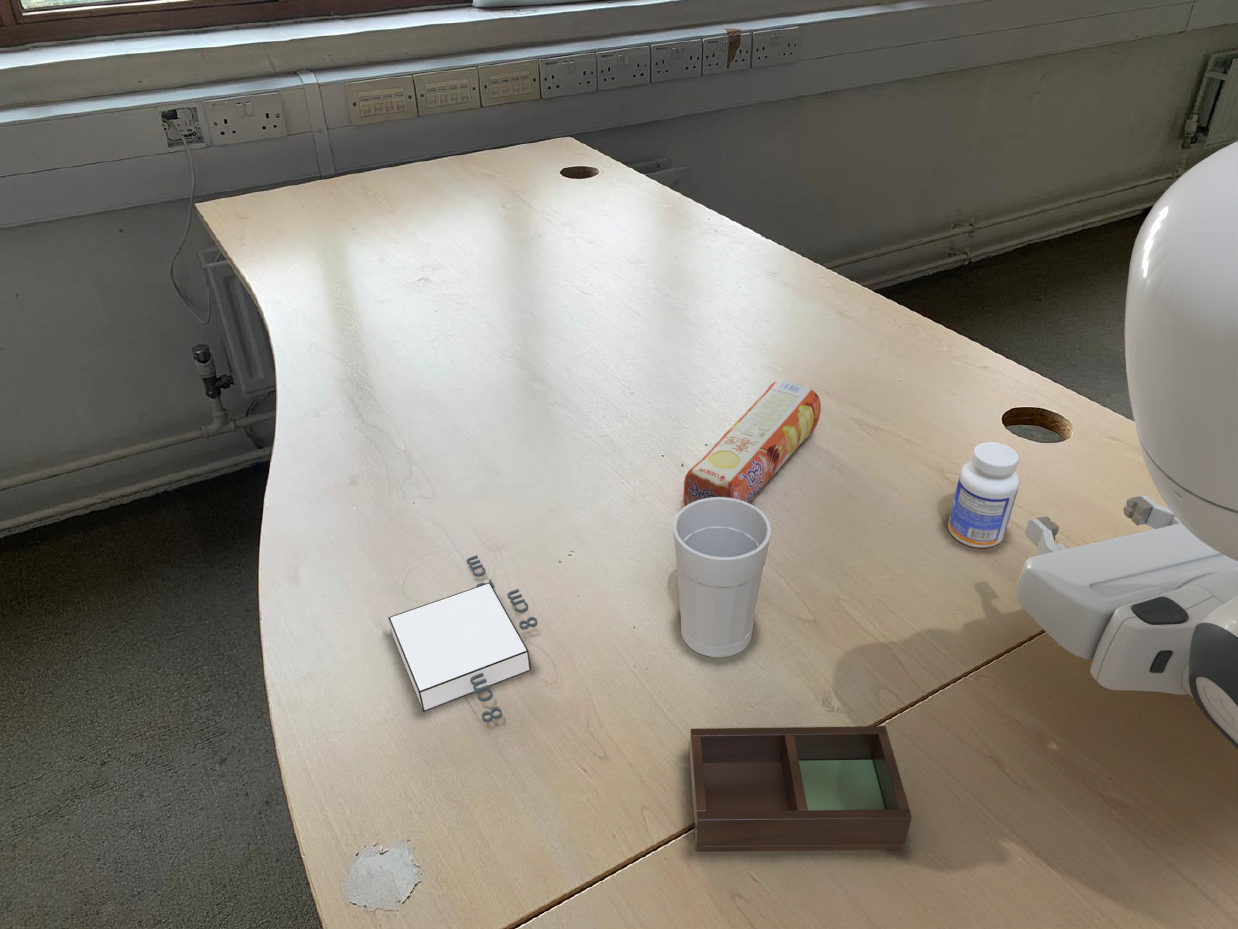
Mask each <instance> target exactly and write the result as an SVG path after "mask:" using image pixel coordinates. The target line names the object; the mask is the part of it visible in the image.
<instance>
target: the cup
mask: <svg viewBox="0 0 1238 929" xmlns="http://www.w3.org/2000/svg"><path fill="white" fill-rule="evenodd" d="M672 533H673V542H674V552H675V553H674V554H675V563H676V564H675V566H676V574H677V575H676V577H677V587H678V600H679V601H678V602H679V609H680V611H679V612H680V633H681V637H682V639H683V641H684V643H685V644H686V645H687V646H688V647H689V648H690V649H691V650H692V651H694V652H696V653H698V654H700V655H702V656H705V657H711V658H727V657H733V656H734V655H737V654H739V653H740V652H742V651H743V650H745V649H747V647H748V646H749V644H750V642H751V641H752V637H753V628H754V618H755V613H756V608H757V602H758V597H759V591H760V586H761V582H762V575H763V571H764V567H765V565H766V559H767V555H768V551H769V546H770V541H771V537H772V525H771V522H770V520H769V518H768V517H767V516H766V514H765V513H764V512H763V511H762V510H760V508H758V507H757V506H756V505H755V506H754V504H751V503H749V502H748V503H747V502H744V501H741V500H738V499H733V498H726V497H712V498H705V499H701V500H697V501H695V502H692V503H690V504H688V505H687V506H683V507H682V508H681V509H680V510H679V511H678V512H677V513H676V515H675V517H674V519H673V522H672Z"/></svg>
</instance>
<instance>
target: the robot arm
mask: <svg viewBox="0 0 1238 929" xmlns="http://www.w3.org/2000/svg"><path fill="white" fill-rule="evenodd" d="M1129 261H1130V262H1129V268H1128V276H1127V277H1128V278H1127V287H1126V296H1125V309H1124V356H1125V369H1126V379H1127V388H1128V395H1129V402H1130V407H1131V411H1132V416H1133V421H1134V425H1135V429H1136V434H1137V437H1138V443H1139V446H1140V450H1141V454H1142V457H1143V460H1144V464H1145V468H1146V470H1147V472H1148V474H1149V476H1150V478H1151V480H1152V481H1151V482H1152V483H1153V485H1154V487H1155V488H1156V490H1157V492H1158V494H1159V496H1160V497H1161V499H1162V500H1163V502H1164V503H1165V504H1166V506H1167V507H1166V506H1163V505H1159V504H1158V503H1157V502H1155V501H1154V500H1153V499H1152V498H1150V497H1149V496H1148V495H1146V494H1143V495H1138V496H1133V497H1130V498H1127V500H1126V502H1125V503H1126V504H1125V505H1124V506H1123V514H1124V516H1125V517H1126V518H1127V519H1130V520H1131V522H1132V523H1134V524H1135V526H1138V527H1139V526H1144V525H1146V526H1148V527H1150V528H1152V529H1149V530H1145V531H1139V532H1135V533H1132V534H1126V535H1121V536H1118V537H1113V538H1108V539H1104V540H1100V541H1096V542H1091V543H1087V544H1083V545H1078V546H1073V547H1067V546H1066V544H1064V543H1063V542H1058V543H1056V536H1057V535H1058V533H1059V530H1060V526H1059V525H1057V523H1055V521H1052V520H1051V517H1049V516H1040V517H1036V518H1031V519H1029V520H1028V522H1027V525H1026V528H1025V534H1026V537H1027V538H1028V540H1030V541H1031V543H1033V545H1035V546H1036V551H1037V555H1033V556H1030V557H1028V558H1027V559H1026V560H1025V562H1024V564H1023V566H1022V569H1021V572H1020V573H1019V577H1018V580H1017V584H1016V599H1017V601H1018V603H1019V604H1020V606H1021V607H1022V608H1023V609H1024V610H1025V611H1026V613H1027V614H1028V615H1029V616H1030V617H1031V618H1032V619H1033V620H1034V621H1035V622H1036V624H1038V626H1039V627H1041V629H1042V630H1044V632H1046V634H1047V635H1048V636H1050V637H1051V639H1052V640H1054V641H1055V642H1056V644H1058V645H1060V647H1062V648H1063V649H1065V651H1067V652H1069V653H1070V654H1072V655H1074V656H1076V657H1078V658H1081V659H1085V660H1089V661H1091V665H1090V669H1089V672H1090V675H1091V676H1092V677H1093V678H1094V680H1095V681H1096V682H1097V683H1098V685H1100V686H1101V687H1103V688H1105V689H1107V690H1112V691H1135V692H1136V691H1137V692H1154V693H1155V692H1156V693H1164V694H1171V695H1176V696H1177V695H1178V696H1188V695H1189V696H1190V697H1191V698H1192V699H1193V700H1194V702H1195V703H1196V705H1197V706H1198V708H1199V710H1200V711H1201V712H1202V714H1203V715H1204V716H1205V717H1206V718H1207V720H1208V721H1209V722H1210V723H1211V724H1212V725H1213V726H1214V727H1215V728H1216V729H1217V730H1218V732H1220V733H1221V734H1222V735H1223V736H1224V737H1225V738H1226V739H1227V740H1228V741H1229V742H1230V744H1232V745H1233V746H1234V747H1235V748H1236V750H1238V140H1237V141H1235V142H1233V143H1231V144H1229V145H1227V146H1224V147H1223V148H1220V149H1218V150H1217V151H1216V152H1214V153H1212V154H1210V155H1209V156H1207V157H1206V158H1204V159H1202V160H1200V161H1199V162H1198V163H1196V164H1195V165H1193V166H1192V167H1191V168H1189V169H1188V170H1187V171H1185V172H1184V173H1183V174H1182V175H1180V177H1179V178H1178V179H1177V180H1175V181H1174V182H1173V183H1172V184H1171V185H1170V186H1169V187H1168V188H1167V189H1166V190H1165V191H1164V193H1163V194H1162V195H1161V196H1160V197H1159V198H1158V200H1157V201H1156V202H1155V203H1154V205H1153V206H1152V208H1151V209H1150V211H1149V213H1148V214H1147V216H1146V217H1145V219H1144V220H1143V223H1142V225H1141V226H1140V228H1139V232H1138V234H1137V236H1136V238H1135V241H1134V244H1133V248H1132V251H1131V258H1130V260H1129Z"/></svg>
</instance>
